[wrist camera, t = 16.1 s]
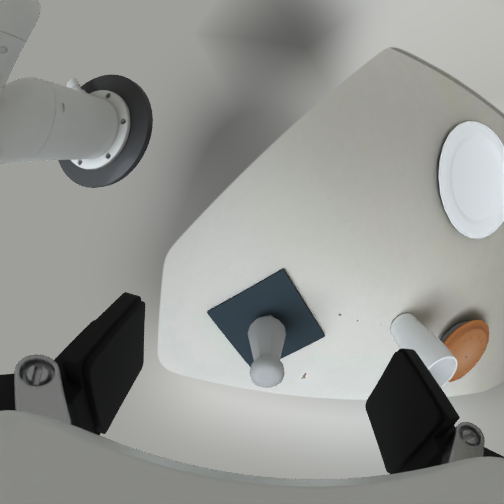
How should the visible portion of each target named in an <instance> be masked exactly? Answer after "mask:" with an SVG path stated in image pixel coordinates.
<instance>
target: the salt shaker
mask: <svg viewBox="0 0 504 504" xmlns="http://www.w3.org/2000/svg"><path fill="white" fill-rule="evenodd" d="M285 336H286V332H285V327H284V325H283V324H282V323H281V322H280V320H278V319H276V318H274V317H273V316H271V315H267V316H262V317H258V318H257V319H256V320H255V321H254V322H253V323H252V324H251V325H250V327H249V331H248V338H249V342H250V346H251V350H252V355H253V359H254V362H253V363H252V365H251V368H250V376H251V379H252V381H253V382H254V383H255V384H256V385H258V386H261V387H273V386H276V385H278V384H279V383H280V382H282V379H283V377H284V367H283V364H282V362H281V361H280V357H281V353H282V349H283V345H284V341H285Z"/></svg>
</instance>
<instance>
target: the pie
mask: <svg viewBox="0 0 504 504" xmlns="http://www.w3.org/2000/svg"><path fill="white" fill-rule="evenodd" d="M488 340H489V328H488V325H487V324H486V323H485V322H484V321H482V320H471V321H465V322H460V323H458V324H456V325H454V326H453V327H452V328H450V329H449V330H448V331H447V332H446V333H445V334H444V336H443V337H442V338H441V341H442V342H443V343H444V344H445V345H446V346H447V347H448V349H449V350H450V351H451V352H452V354H453V355H454V356H455V358H456V359H457V369H456V372H455V373H454V375H453V377H452V378H451V379H450V380H449V381H448V382H452V381H455V380H457V379H460V378H461V377H462V376H464V375H465V374H466V373H468V372H469V371H470V370H471V369H472V368H473V367H474V366H475V365H476V363H477V362H478V361H479V360H480V358H481V356H482V355H483V353H484V351H485V349H486V347H487V344H488Z"/></svg>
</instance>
